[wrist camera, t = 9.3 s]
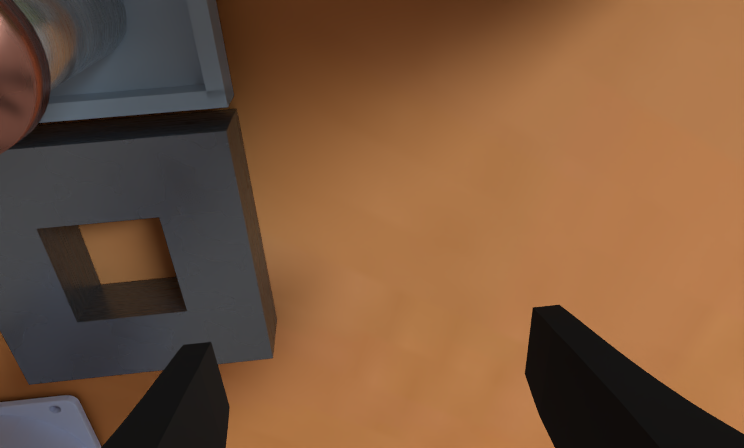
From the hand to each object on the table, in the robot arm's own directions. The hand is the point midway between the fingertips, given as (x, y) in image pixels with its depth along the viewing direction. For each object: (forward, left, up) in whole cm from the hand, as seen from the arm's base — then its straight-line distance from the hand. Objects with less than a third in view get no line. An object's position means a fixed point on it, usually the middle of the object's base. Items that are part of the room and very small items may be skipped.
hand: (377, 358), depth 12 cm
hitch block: (-9, -2, -10) cm, 14 cm away
